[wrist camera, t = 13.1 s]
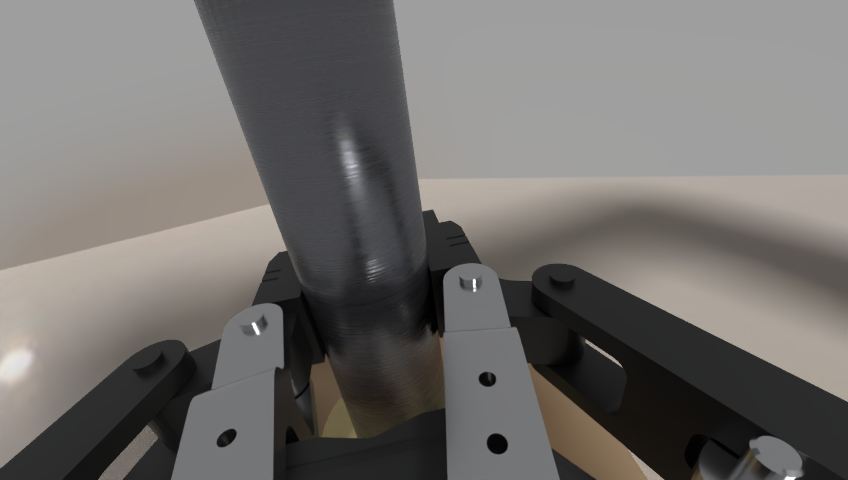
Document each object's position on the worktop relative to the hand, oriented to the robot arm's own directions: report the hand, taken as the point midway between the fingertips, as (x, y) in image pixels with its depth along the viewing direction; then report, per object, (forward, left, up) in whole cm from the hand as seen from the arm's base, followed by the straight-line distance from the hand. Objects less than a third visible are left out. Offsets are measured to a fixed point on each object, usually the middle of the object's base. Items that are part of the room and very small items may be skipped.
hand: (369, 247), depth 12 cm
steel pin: (0, +3, -11) cm, 11 cm away
